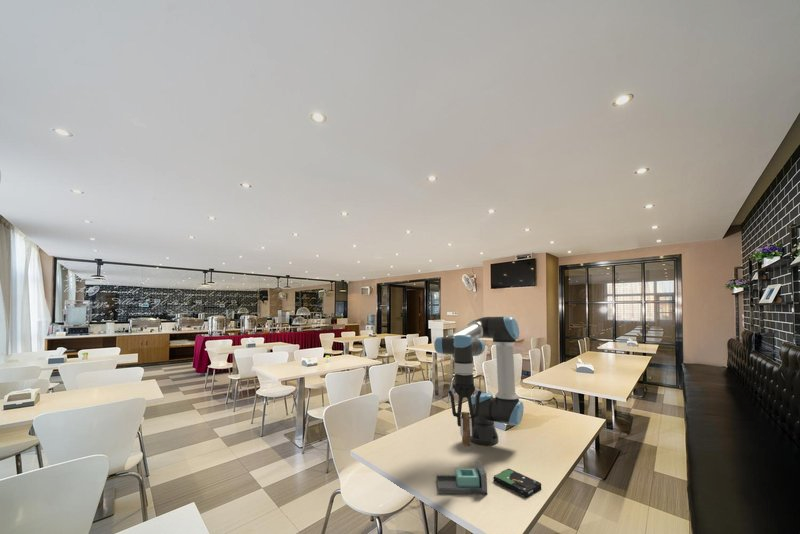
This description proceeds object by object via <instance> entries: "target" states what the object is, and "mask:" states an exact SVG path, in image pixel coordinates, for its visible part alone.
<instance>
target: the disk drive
mask: <svg viewBox="0 0 800 534" xmlns="http://www.w3.org/2000/svg"><path fill="white" fill-rule="evenodd" d="M492 479H493V482H494V483H496V484H497V485H499V486H502V487H504V489H505V488H506V489H508V490H509V491H512V492H513V493H515V494H518V495H519V496H521V497H523V498H526V499H527V498H529V497H531V496H533V495H534V494H536V493H538V492H539V491H541V490H542V483H541V482H539V481H537V480H535V479H533V478H531V477H529V476H526V475H524V474H522V473H520V472H517V471H515V470H514V469H513V470H512V469H511V468H506V469H504V470H502V471H500V473H497V474H494V475H493V477H492Z"/></svg>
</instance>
